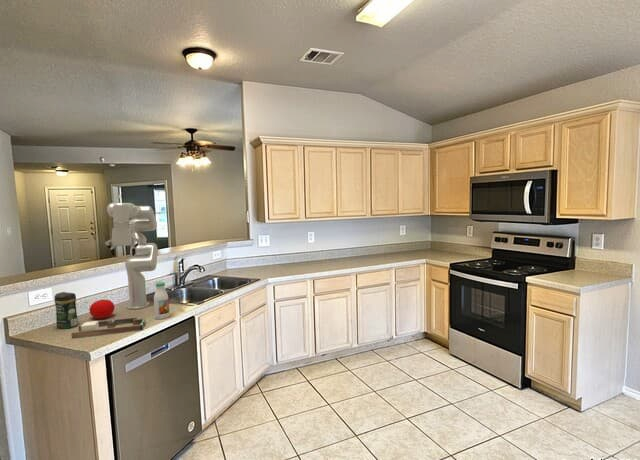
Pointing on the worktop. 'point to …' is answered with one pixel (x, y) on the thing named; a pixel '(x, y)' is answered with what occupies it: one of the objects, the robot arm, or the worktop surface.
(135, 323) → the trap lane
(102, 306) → the tomato
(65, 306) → the coffee jar
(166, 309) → the milk bottle
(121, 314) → the worktop surface
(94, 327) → the block
